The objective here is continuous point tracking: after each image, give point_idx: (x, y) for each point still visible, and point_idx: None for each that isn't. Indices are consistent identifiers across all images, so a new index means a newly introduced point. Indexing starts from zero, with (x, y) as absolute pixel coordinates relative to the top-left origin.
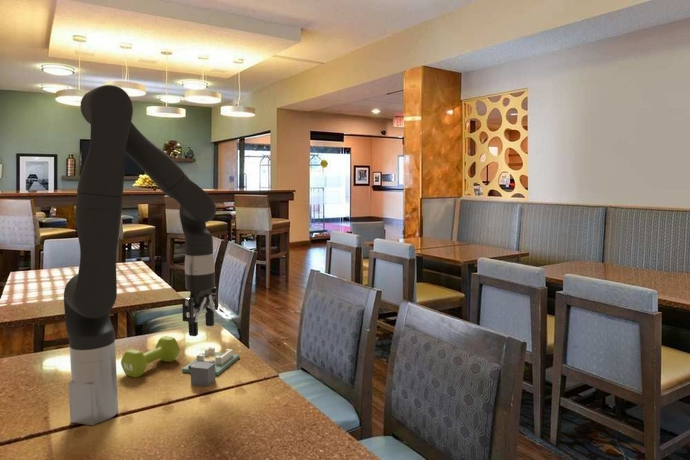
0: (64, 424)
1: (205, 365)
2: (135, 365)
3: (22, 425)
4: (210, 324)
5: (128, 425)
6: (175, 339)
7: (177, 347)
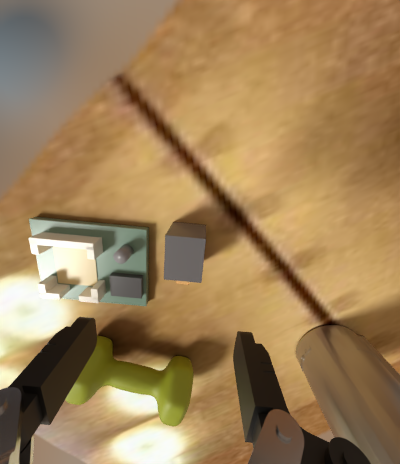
0: None
1: (185, 252)
2: (192, 381)
3: None
4: (90, 332)
5: (366, 291)
6: None
7: None
